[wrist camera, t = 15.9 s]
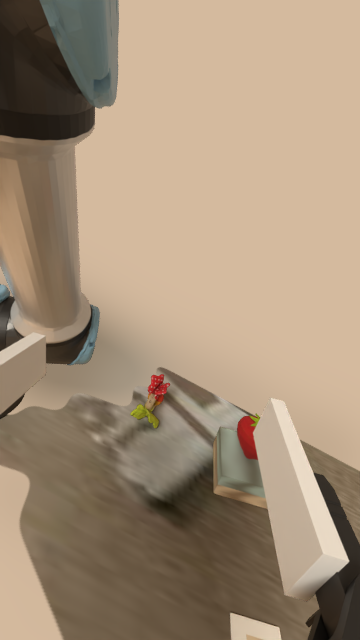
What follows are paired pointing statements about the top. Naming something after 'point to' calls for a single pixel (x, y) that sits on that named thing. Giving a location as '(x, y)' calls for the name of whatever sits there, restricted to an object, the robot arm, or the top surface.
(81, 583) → the top surface
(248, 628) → the page
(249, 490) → the base brick
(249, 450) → the strawberry
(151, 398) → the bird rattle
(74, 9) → the robot arm
